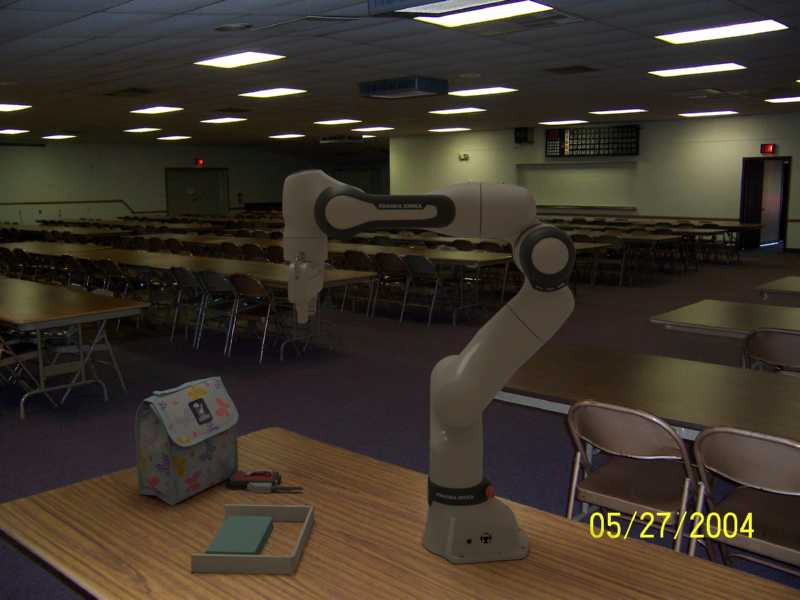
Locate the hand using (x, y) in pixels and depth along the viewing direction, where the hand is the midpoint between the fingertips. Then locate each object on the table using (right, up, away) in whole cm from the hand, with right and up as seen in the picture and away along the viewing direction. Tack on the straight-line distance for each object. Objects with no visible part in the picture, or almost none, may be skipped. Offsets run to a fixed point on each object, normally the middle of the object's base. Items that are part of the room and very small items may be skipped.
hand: (307, 318), depth 147 cm
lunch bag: (-34, -44, +35) cm, 65 cm away
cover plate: (-15, -48, +5) cm, 51 cm away
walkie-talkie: (-15, -44, +35) cm, 58 cm away
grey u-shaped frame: (-11, -48, +5) cm, 49 cm away
